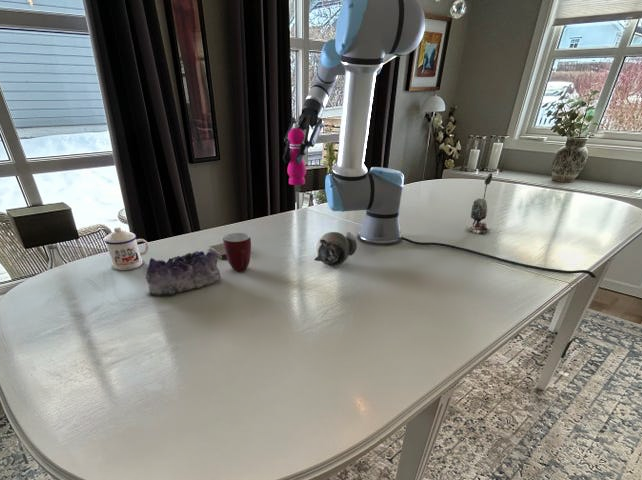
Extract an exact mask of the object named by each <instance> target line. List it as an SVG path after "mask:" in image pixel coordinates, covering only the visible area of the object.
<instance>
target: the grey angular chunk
mask: <svg viewBox="0 0 642 480" xmlns="http://www.w3.org/2000/svg"><path fill="white" fill-rule="evenodd" d="M208 247H209V252H211V253H214V254H215V255H216V256H217V258H220V259H221V260H226V259H228V258H227V255H226V252H225V249H224V244H223V243H219V244H214V245H211V246H210V245H209V246H208Z"/></svg>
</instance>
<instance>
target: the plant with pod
mask: <svg viewBox="0 0 642 480" xmlns="http://www.w3.org/2000/svg"><path fill="white" fill-rule="evenodd" d="M492 179H493V173H491V172H489V173H488V174H487V175H486V176H485V178H484V185H485V187H484V195H483V198H476V199H474V201H473V204H472V206H471V213H470V218H471V219H473V222H472V225H470V226H468V231H469V232H472V233H475V234H485V233H487V232H489V230H490V227H489V226H487V223H486V221H483V220H485V219H486V218H487V215H488V203H487V200H486V199H485V198H486V191H487V188H488V185H490V184H491V182H492ZM482 221H483V222H482Z"/></svg>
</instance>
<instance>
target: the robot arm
mask: <svg viewBox="0 0 642 480" xmlns="http://www.w3.org/2000/svg"><path fill="white" fill-rule="evenodd" d="M425 30H426V17H425V11H424V10H423V7H422V6H421V4H420V3H419V1H418V0H343V1H342V4H341V6H340V10H339V12H338V16H337V21H336V27H335V37H334V38H331V39H328V40H327V41H325V42H324V44H323V46H322V48H321V52H320V55H319V61H318V65H317V69H316V72H315V77H314V79H313V82H312V85H311V87H310V89H309V92H308V93H307V97H306V98H305V101H304V103H303V105H302V108H301V114H300V115H299V116H298V117H297V118H296V117H294V116H293V117H292V118H291V120H290V121H291V122H290V124H289V126H288V129H287V132H286V133H285V136H284V138H283V141H284V142H285V144H286V145H285V148H284V149H283V150H284V153H283V156H282V157H281V158H282V160H283V161H284V163H285V164H287V163H289V161H290V158H291V148H290V144H291V143H290V141H289V139H288V133H289V131H290V130H291V129H293V128H294V124H295V123H297V124H298V128H299V129H301V130H302V131H303V132H304V133H305V134H304V140H303V142H302V144H301V146H300V149H299V151H298V153H297V156H296V158H295V160H296V162H297V163H298V164H300V162H301V160H302V159H303V158H304V156H305V155H306V154H307V151H308V149H310V148H314V147H315V145H316V143H317V140H318V138H319V135H320V133H321V130H322V129H323V127H324V126H325V123H324V120H323V118H322V116H323V113H324V111H325V108H326V106H327V103H328V101H329V98H330V96H331V94H332V92H333V89H334V87H335V85H336V83H337V80H338V77H339V76H344V81H343V91H342V102H341V103H342V104H341V115H340V126H339V137H338V147H337V157H336V158H337V159H336V163H335V164H333V166H332V167H331V173H328V174H326V176H325V180H324V181H325V182H324V184H325V185H324V187H325V188H324V189H325V197H326V201H327V204H328V207H329V209H330V211H332V212H341V213H344V212H354V211H355V212H356V211H357V212H359V211H366V212H365V217H364V220H363V222H362V224H361V225H362V226H361V228H360V230H359V233H358V238H359V239H360V240H361V241H362V242H364V243H368V244H372V245H379V246H381V245H382V246H384V245H387V246H388V245H393V244H397V243H398V242H400V241H401V240H402V241H405V242H407V243H409V244H411V245H412V244H413V245H418V246H437V247H438V246H439V247H445V248H450V249H455V250H459V251H462V252H467V253H470V254H474V255H477V256H481V257H485V258H487V259H488V258H489V259H492V260H495V261H498V262H502V263H505V264H509V265H512V266H513V265H514V266H519V267H522V268H528V269H533V270H538V271H544V272H549V273H557V274H565V275H573V274H586V275H589V276H590V278H593V279H596V278H597V276H596V274H595V273H594V272H592V271H590V270H587V269H578V270H564V269H557V268H549V267H542V266H537V265H531V264H527V263H522V262H519V261H518V262H517V261H513V260H509V259H505V258H501V257H498V256H494V255H491V254H488V253H484V252H480V251H476V250H474V249H470V248H466V247H461V246H456V245H452V244H448V243H441V242H431V241H429V242H426V241H425V242H423V241H416V240H412V239H410V238H407V237H403V236H402V232H401V226H400V211H401V210H400V209H401V205H402V197H403V191H404V181H405V176H404V174H403V173H402V172H401V171H399V170H396V169H392V168H388V167H379V166H373V167H372V166H371V168H370V169H369V172H368V168H367V167H366V165H365V163H364V162H365V158H366V149H367V144H368V143H367V142H368V136H369V128H370V120H371V113H372V105H373V101H374V99H373V98H374V92H375V84H376V78H377V75H380V73H381V70H382V68H383V65H385V64H386V63H388V62H390V61H391V60H393V59H394V58H396V57H404V56H406V55H409V54H410V53H412V52H413V51H414V50H416V49H417V47H418V46H420V45H419V44H420V43H421V42H422V39H423V37H424V35H425ZM573 341H574V338H572V339H571V340H569V341H567V343H566V345H565V347H564V350H563V351H562V353H561V355H560V359H564V358H565V356H566V354H567V352H568V350H569V348H570V346H571V345H572V343H573Z"/></svg>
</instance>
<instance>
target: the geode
mask: <svg viewBox="0 0 642 480" xmlns="http://www.w3.org/2000/svg"><path fill="white" fill-rule="evenodd" d="M218 258H219V257H218V256H217V255H215V254H214V253H213V252H211V251H207V252H206V254H205V252H204V251H203V250H201V251H199V250H195V251H192V252H188V253H185V254H183V255H181V256H180V255H178V256H174V257H171V258H168V260H167V261H165V260H163V259H158V260H156V259H155V258H153V257H151V258H150V259H149V263H148V265H147V268H146V274H145V279H146V283H147V284H148V291H149V294H150V295H151V296H160V297H163V296H171V295H173V294H177V293H181V292H184V291H189V290H193V289H196V288H199V289H200V288H201V287H205V286H208V285H211V284H213V283H216V282H218V281H219V280H220V279H221V271H220V269H219V268H218Z"/></svg>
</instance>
